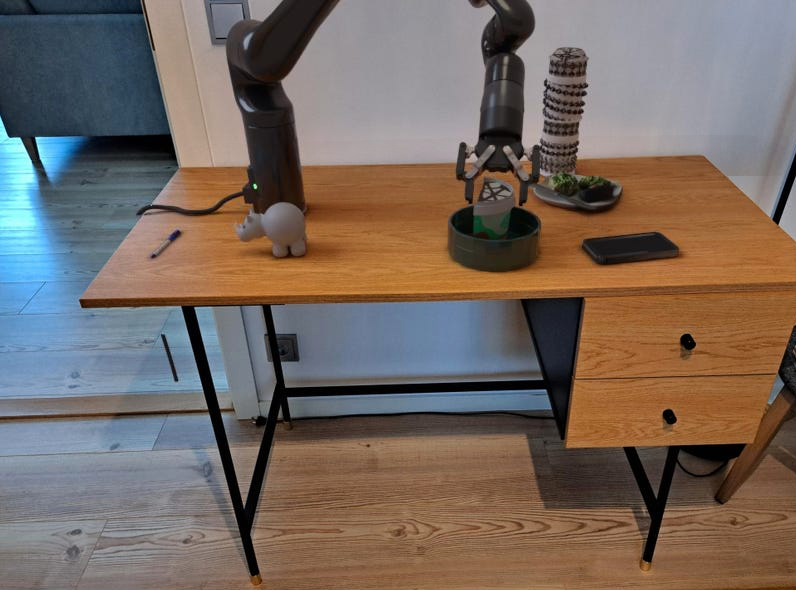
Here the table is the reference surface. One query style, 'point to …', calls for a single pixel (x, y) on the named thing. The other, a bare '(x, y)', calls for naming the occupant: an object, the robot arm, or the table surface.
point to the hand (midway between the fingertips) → (495, 203)
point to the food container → (493, 210)
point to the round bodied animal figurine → (277, 229)
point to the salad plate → (578, 192)
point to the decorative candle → (563, 110)
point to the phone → (629, 247)
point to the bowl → (494, 241)
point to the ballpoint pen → (166, 243)
